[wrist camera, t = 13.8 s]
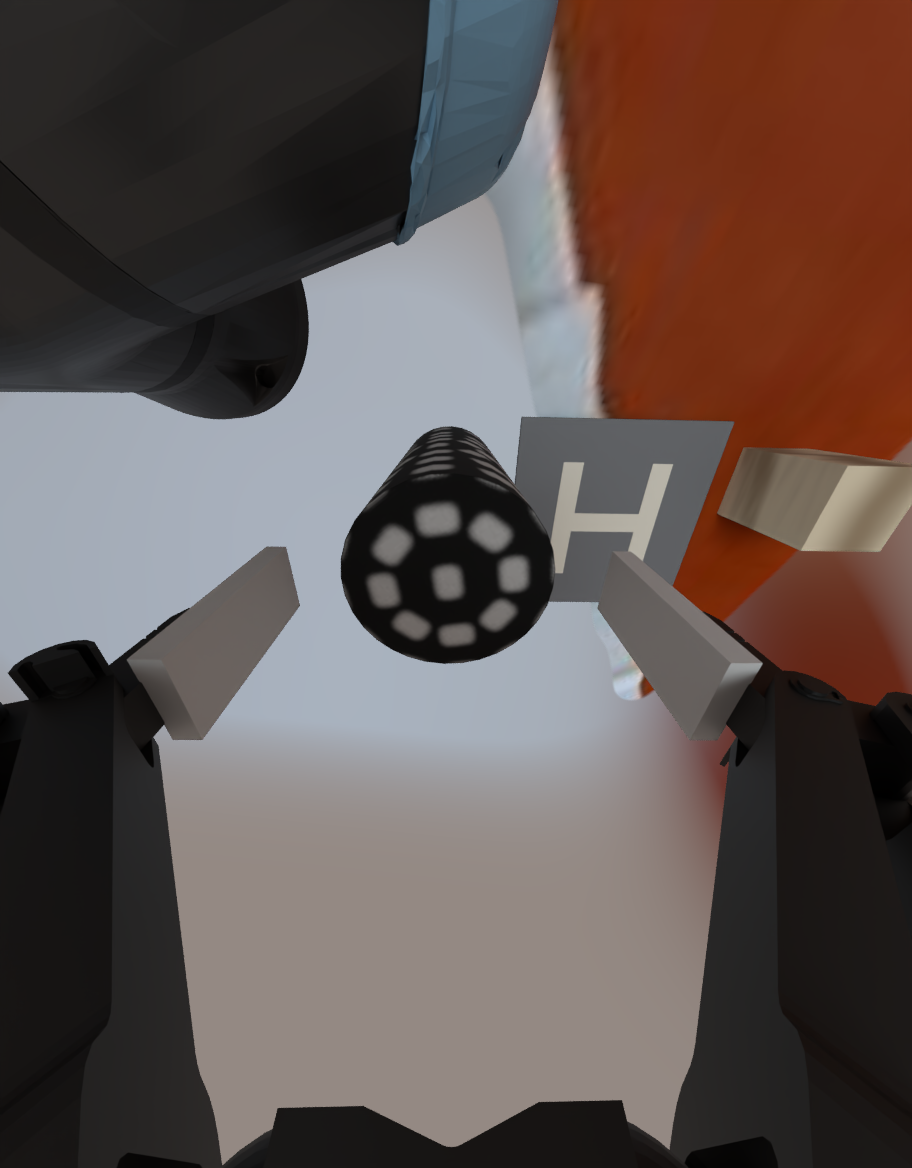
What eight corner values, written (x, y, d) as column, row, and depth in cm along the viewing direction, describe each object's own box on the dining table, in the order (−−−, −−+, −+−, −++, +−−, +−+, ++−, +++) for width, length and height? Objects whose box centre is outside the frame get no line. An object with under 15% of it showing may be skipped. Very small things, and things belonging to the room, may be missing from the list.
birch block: (716, 513, 33) (800, 550, 25) (743, 447, 30) (848, 465, 22) (777, 514, 33) (879, 551, 25) (809, 448, 30) (936, 467, 22)
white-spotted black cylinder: (498, 514, 33) (554, 652, 15) (413, 526, 33) (371, 673, 16) (491, 419, 29) (556, 456, 11) (394, 434, 29) (309, 491, 12)
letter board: (502, 599, 37) (503, 601, 37) (521, 416, 28) (522, 417, 28) (664, 601, 38) (666, 602, 37) (731, 421, 29) (734, 421, 29)
